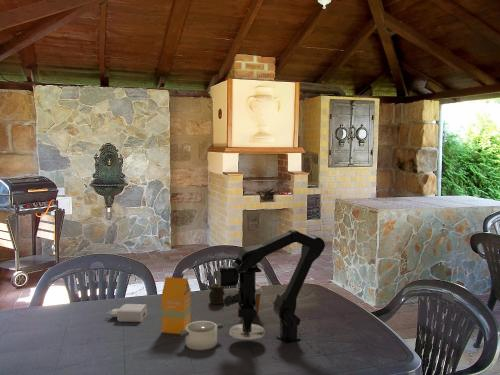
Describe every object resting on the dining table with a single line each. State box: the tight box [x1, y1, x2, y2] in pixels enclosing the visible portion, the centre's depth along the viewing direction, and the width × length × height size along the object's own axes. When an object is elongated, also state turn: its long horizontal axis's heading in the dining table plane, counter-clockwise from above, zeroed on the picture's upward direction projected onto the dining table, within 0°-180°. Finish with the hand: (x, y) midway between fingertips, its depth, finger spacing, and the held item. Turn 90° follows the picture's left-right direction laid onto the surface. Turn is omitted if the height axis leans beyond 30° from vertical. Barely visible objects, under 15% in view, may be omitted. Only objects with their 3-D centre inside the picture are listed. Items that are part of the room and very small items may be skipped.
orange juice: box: [161, 276, 192, 335], centre depth 172 cm, size 8×9×20 cm
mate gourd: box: [208, 283, 226, 305], centre depth 202 cm, size 7×8×10 cm
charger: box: [106, 303, 148, 323], centre depth 184 cm, size 5×9×15 cm
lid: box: [228, 319, 266, 341], centre depth 160 cm, size 12×12×6 cm
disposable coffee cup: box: [255, 283, 263, 317], centre depth 188 cm, size 10×10×12 cm
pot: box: [178, 320, 224, 351], centre depth 160 cm, size 11×16×6 cm
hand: (247, 327), depth 160 cm, fingers closed on lid, 3 cm apart
